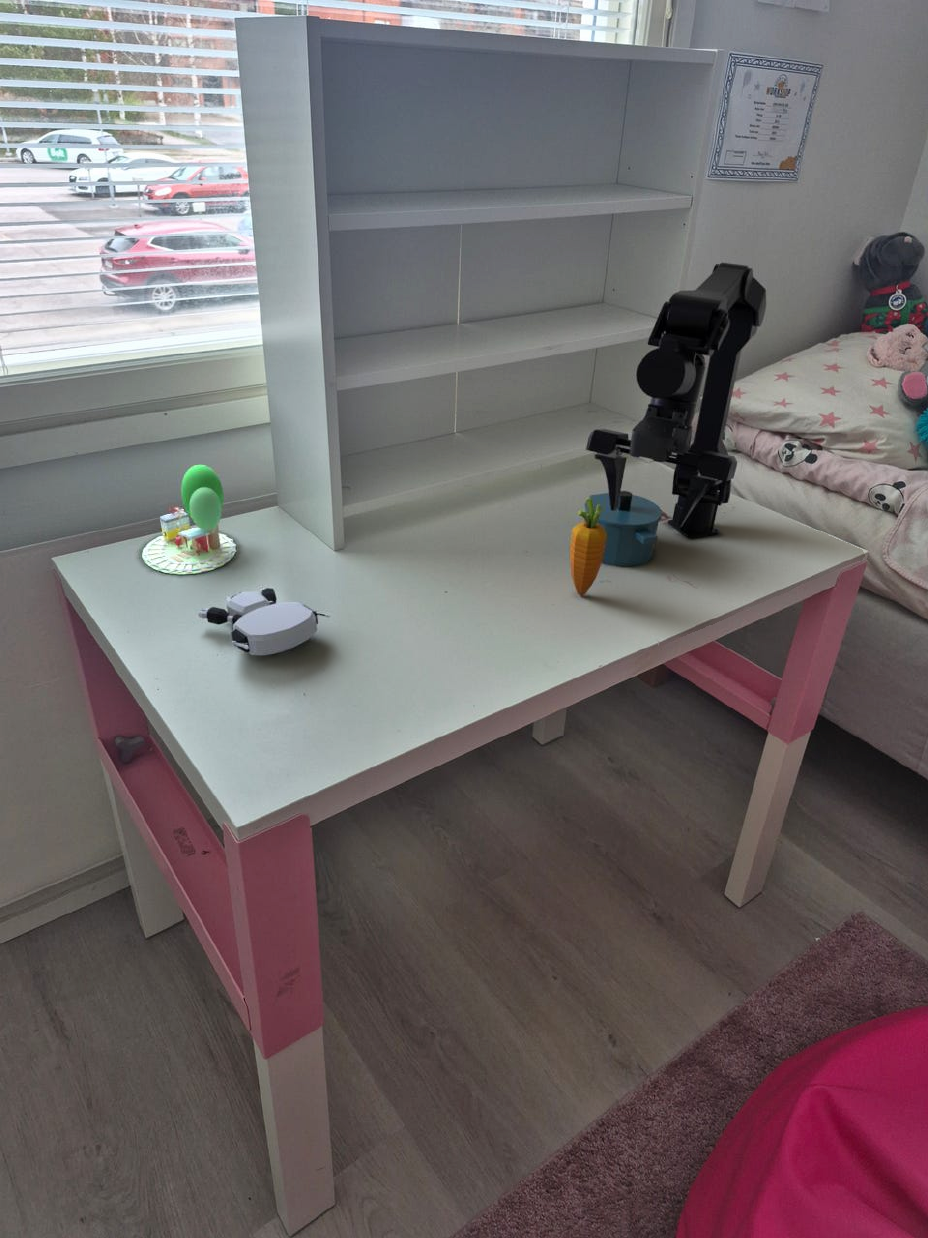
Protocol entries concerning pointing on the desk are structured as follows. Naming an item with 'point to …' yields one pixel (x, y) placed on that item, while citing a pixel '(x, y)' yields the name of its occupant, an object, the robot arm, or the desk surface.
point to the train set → (197, 545)
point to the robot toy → (265, 622)
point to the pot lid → (626, 510)
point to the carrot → (587, 549)
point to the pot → (628, 544)
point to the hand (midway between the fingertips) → (645, 518)
